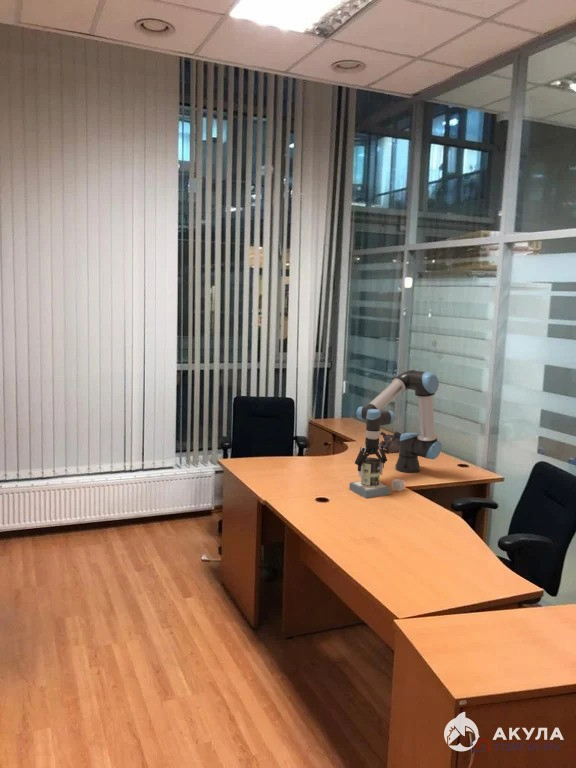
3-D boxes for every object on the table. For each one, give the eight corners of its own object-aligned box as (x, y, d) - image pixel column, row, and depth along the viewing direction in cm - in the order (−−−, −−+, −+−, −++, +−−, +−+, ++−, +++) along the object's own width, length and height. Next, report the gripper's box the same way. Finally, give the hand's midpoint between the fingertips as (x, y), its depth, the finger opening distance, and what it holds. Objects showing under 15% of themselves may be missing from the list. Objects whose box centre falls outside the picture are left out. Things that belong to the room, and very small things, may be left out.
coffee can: (379, 482, 348) (381, 458, 346) (378, 488, 338) (380, 463, 336) (361, 480, 350) (362, 456, 348) (359, 486, 340) (361, 461, 338)
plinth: (372, 486, 356) (373, 478, 355) (390, 494, 342) (390, 487, 341) (349, 489, 348) (349, 482, 347) (365, 498, 334) (366, 490, 334)
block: (396, 487, 355) (396, 478, 354) (404, 489, 352) (404, 480, 351) (391, 489, 351) (392, 480, 351) (399, 491, 348) (399, 482, 347)
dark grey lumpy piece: (381, 453, 424) (409, 454, 428) (383, 432, 423) (411, 433, 427) (375, 450, 438) (402, 451, 441) (377, 429, 437) (404, 430, 441)
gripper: (386, 434, 349) (384, 471, 352) (349, 438, 338) (347, 476, 341) (395, 437, 343) (392, 474, 346) (357, 441, 331) (355, 479, 334)
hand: (370, 475), depth 343 cm, fingers open, 13 cm apart
